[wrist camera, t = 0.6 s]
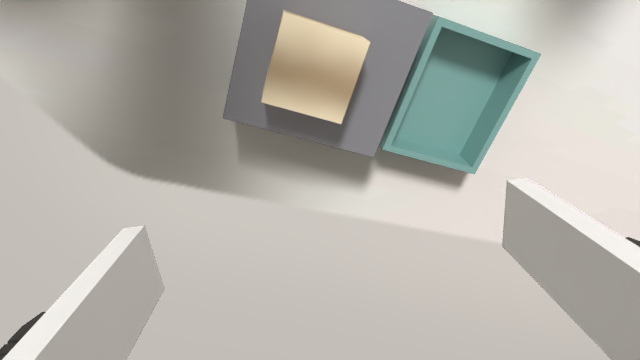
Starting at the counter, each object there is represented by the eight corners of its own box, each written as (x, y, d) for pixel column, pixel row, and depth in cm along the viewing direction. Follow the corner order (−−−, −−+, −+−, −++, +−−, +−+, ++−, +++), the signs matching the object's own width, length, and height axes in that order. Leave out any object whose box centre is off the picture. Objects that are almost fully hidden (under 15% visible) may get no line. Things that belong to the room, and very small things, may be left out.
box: (423, 12, 33) (438, 16, 30) (518, 47, 36) (541, 53, 32) (374, 135, 38) (382, 149, 35) (459, 159, 41) (474, 174, 38)
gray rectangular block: (261, -47, 30) (257, -51, 25) (408, 7, 33) (433, 13, 28) (231, 96, 35) (222, 118, 30) (360, 132, 38) (373, 157, 33)
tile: (283, 9, 27) (283, 13, 24) (361, 35, 28) (370, 42, 25) (262, 90, 29) (261, 102, 27) (335, 111, 31) (341, 124, 28)
